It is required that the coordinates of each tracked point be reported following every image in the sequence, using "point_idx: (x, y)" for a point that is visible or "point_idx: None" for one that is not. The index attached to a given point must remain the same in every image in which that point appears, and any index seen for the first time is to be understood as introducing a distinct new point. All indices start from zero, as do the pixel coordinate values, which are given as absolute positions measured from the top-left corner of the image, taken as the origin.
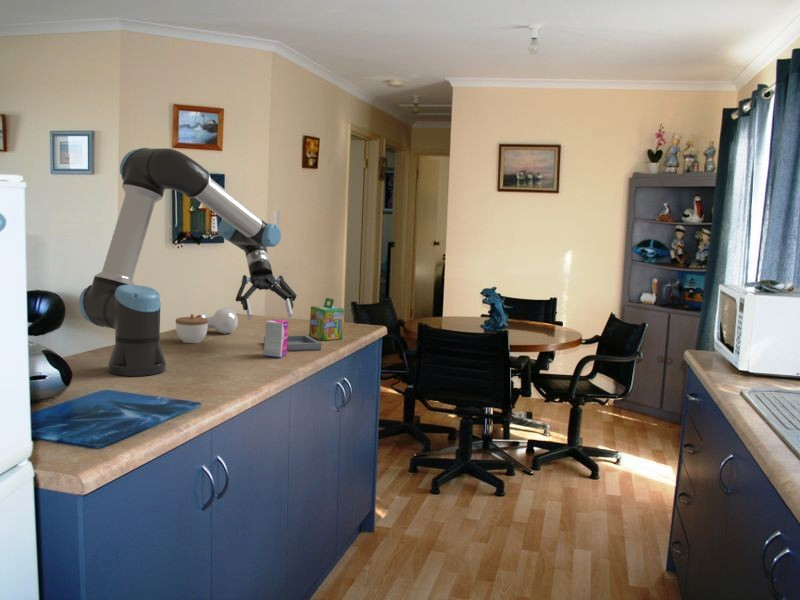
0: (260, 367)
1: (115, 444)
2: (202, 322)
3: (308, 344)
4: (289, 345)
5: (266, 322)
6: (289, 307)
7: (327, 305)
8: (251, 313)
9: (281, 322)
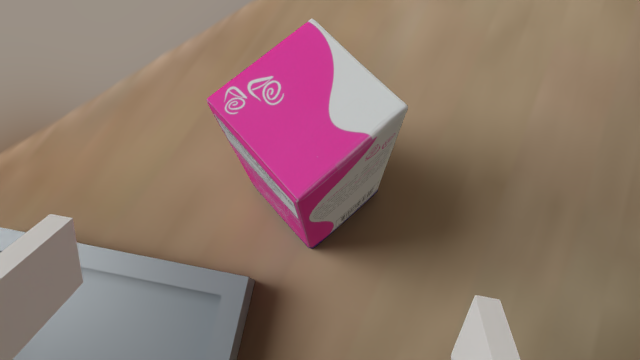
0: (473, 18)
1: None
2: None
3: None
4: (174, 263)
5: (403, 103)
6: (5, 270)
7: None
8: (483, 307)
9: (302, 43)
